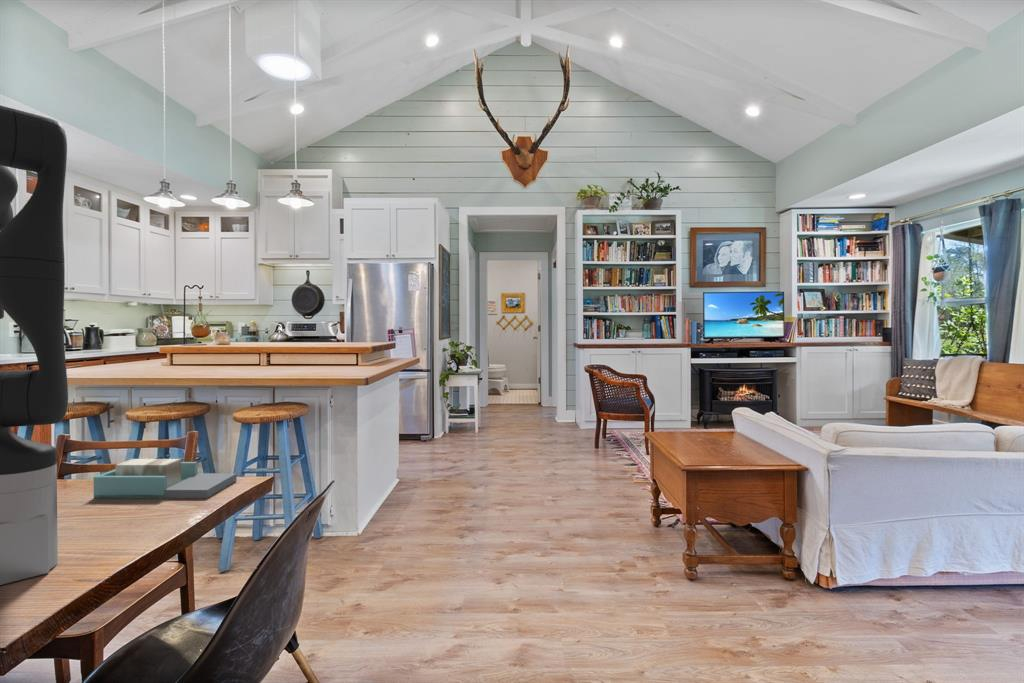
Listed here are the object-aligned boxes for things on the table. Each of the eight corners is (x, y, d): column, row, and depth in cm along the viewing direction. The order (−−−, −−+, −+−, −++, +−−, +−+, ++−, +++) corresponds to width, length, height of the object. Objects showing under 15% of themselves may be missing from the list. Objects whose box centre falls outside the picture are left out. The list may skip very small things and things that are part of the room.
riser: (236, 480, 136) (236, 473, 136) (207, 498, 122) (207, 489, 122) (197, 480, 136) (197, 473, 136) (163, 498, 122) (163, 489, 122)
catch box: (197, 480, 136) (197, 462, 135) (163, 498, 122) (163, 477, 122) (134, 480, 135) (134, 461, 135) (93, 498, 121) (93, 477, 121)
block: (181, 458, 131) (132, 458, 131) (166, 465, 125) (115, 465, 125) (181, 482, 132) (132, 482, 131) (166, 489, 126) (115, 489, 125)
